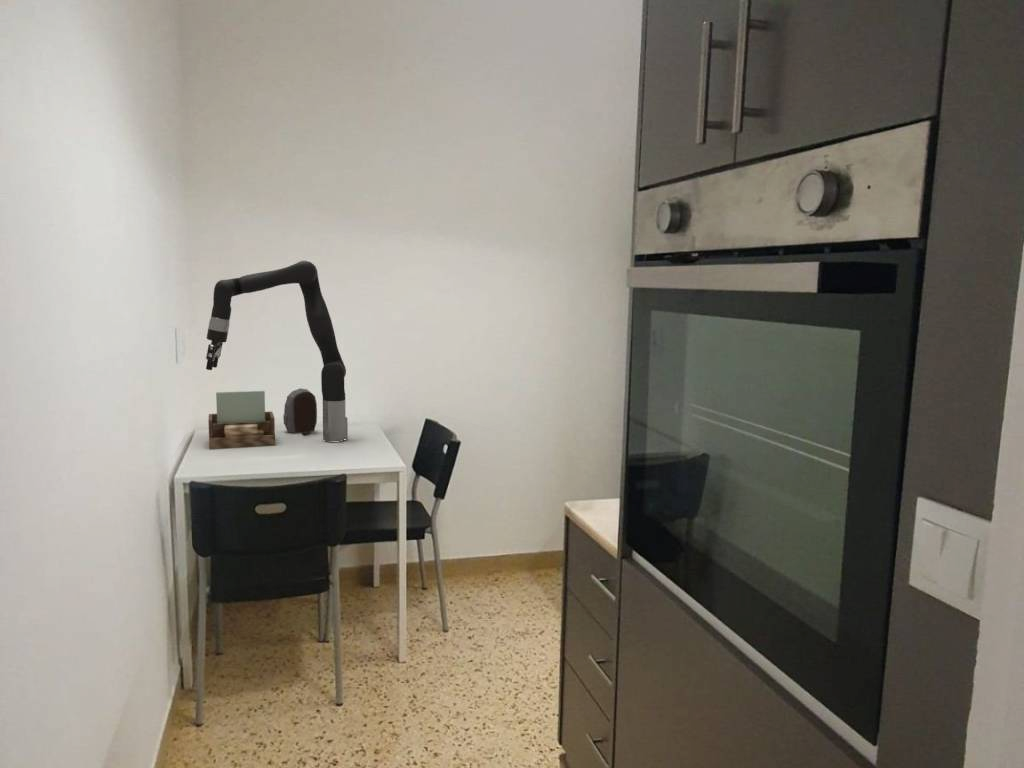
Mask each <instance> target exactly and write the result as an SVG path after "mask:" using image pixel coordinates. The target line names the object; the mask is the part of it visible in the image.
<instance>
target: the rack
mask: <svg viewBox="0 0 1024 768" xmlns="http://www.w3.org/2000/svg"><path fill="white" fill-rule="evenodd" d="M207 420H208V421H207V422H208V445H209V447H208V448H209V450H221V449H222V450H223V449H225V450H226V449H239V448H242V449H243V448H256V447H257V448H258V447H273V446H275V447H276V428H275V427H276V426H275V425H276V424H275V416H274V412H273V411H270V410H269V411H265V421H261V422H239V423H218V424H217V413H208V419H207ZM248 424H257V429H258V430H263V432H264V435H263V436H245V437H226V438H225V430H224V428H225V425H248Z"/></svg>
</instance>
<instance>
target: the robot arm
mask: <svg viewBox="0 0 1024 768" xmlns="http://www.w3.org/2000/svg"><path fill="white" fill-rule="evenodd" d="M291 284H298V285H299V288H300V290H301V293H302V296H303V300H304V310H305V317H306V320H307V325H308V327H309V331H310V334H311V336H312V338H313V340H314V342H315V343H316V346H317V348H318V349H319V352H320V355H321V359H322V365H323V366H322V369H321V371H320V372H321V375H320V378H321V379H320V380H321V382H320V384H321V394H322V441H323V440H325V441H324V442H326V441H341V440H344V439H348V432H349V431H348V429H349V428H348V421H349V419H348V417H347V416H346V413H347V412H346V392H345V391H346V390H345V376H346V375H347V369H346V365H345V363H344V360H343V358H342V355H341V353H340V351H339V348H338V344H337V339H336V334H335V330H334V326H333V322H332V317H331V315H330V312H329V309H328V307H327V304H326V302H325V299H324V296H323V293H322V291H321V285H320V281H319V274H318V269H317V266H316V265H315V264H314V263H312V262H311V261H308V260H300V261H297V262H296V263H294V264H291V265H289V266H288V265H287V266H286V267H282V268H279V269H274V270H270V271H269V270H268V271H261V272H256V273H252V274H251V273H250V274H246V275H243V276H241V277H235V278H228V279H221V280H218V281H217V282H216V283H215V285H214V288H213V301H212V302H213V304H212V305H213V306H212V309H211V315H210V318H209V322H208V328H207V332H206V339H207V340H208V341H211V342H210V343H209V344H208V345H207V346H208V348H207V351H206V352H207V353H206V357H205V359H206V360H207V361H206V368H205V369H206V370H207V371H212V370H213V368H218V362H219V359H220V357H221V353H222V348H223V343H226V342H227V340H228V335H229V329H230V319H231V315H232V306H231V303H232V297H236V296H239V295H243V294H250V293H255V292H260V291H264V290H268V289H272V288H275V287H278V286H282V285H291ZM341 442H342V441H341Z"/></svg>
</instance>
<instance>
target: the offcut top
mask: <svg viewBox="0 0 1024 768" xmlns="http://www.w3.org/2000/svg"><path fill="white" fill-rule="evenodd" d="M224 430H225V434H246V433H257V432H258V429H257V424H248V425H225V428H224Z"/></svg>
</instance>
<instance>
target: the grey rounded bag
mask: <svg viewBox="0 0 1024 768" xmlns="http://www.w3.org/2000/svg"><path fill="white" fill-rule="evenodd" d="M317 407H318V405H317V399H316V395H314V394H313V393H312V392H311V391H310V390H309V389H308V388H302V387H301V388H298V389H295V390H293V391H291V392H290V393H289V394H288V395H287V396H286V400H285V403H284V411H283V415H282V417H283V418H282V419H283V425H284V427H285V429H286V431H287V432H288V433H290V434H301V435H306V434H310V433H314V432H315V430H316V425H317V422H318V408H317Z"/></svg>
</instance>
